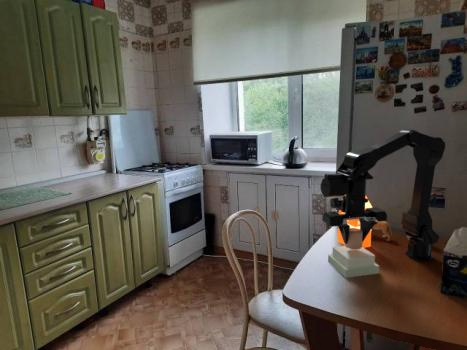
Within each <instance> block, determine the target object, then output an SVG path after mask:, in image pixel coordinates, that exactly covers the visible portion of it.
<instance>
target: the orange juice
mask: <svg viewBox="0 0 467 350" xmlns="http://www.w3.org/2000/svg"><path fill="white" fill-rule="evenodd" d="M345 195H346V194H345ZM345 195H344V196H345ZM366 198H367V199H368V196H366ZM341 200H343V198H342V199H341ZM367 208H374V206H372V204H371V202H370V200H369V199H368V202H367V203H365V210H366V209H367ZM338 213H339V214H345V213H344V212H341V210H340V211H338ZM347 224H348V225H349V226H350V228H357V229H360V221H359V219H354V220H347ZM372 230H373V229H371V230H370V232H369V233H368V235H367V236H366V238H365V240H364V241H363V242H362V247H363V248H365V249H366V248H370V247H371V246H372V245H371V243H372V242H371V241H372ZM337 242H338V243H340V244H342V246H345V243H344V241H343V238H342V235H341V232H340V230H339V228H338V227H337Z"/></svg>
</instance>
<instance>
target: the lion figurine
mask: <svg viewBox="0 0 467 350" xmlns="http://www.w3.org/2000/svg"><path fill="white" fill-rule="evenodd" d="M375 221H376V222H377V224H375V225H374V226H373V228H372V230H376V231H377V230H378V231H379V230H381V231H382V234H383V235H382V237H383V238H386V241H387V242H390V241H391V239H393V240H395V241H396V240H397V238H396V237H395V236H394V235H393V231H392V227H391V225H390V224H389V222H387V221H380V222H379V221H377V220H376V219H375ZM388 231H389V232H388ZM389 233H390V234H389ZM391 237H392V238H391Z"/></svg>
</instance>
